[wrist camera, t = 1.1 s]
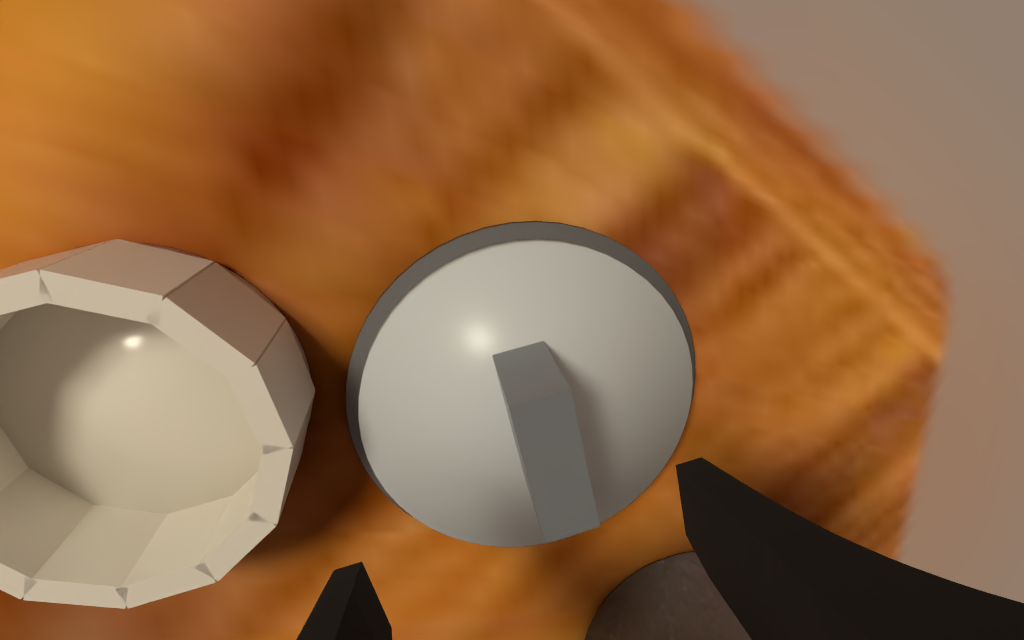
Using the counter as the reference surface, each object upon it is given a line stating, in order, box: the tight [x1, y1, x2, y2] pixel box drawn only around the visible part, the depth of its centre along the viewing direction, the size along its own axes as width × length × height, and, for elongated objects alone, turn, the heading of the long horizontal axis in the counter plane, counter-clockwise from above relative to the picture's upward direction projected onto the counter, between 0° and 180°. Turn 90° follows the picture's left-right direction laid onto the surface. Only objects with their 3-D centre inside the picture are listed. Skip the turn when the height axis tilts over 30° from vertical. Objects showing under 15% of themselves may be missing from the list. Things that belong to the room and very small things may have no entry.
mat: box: [346, 221, 695, 517], centre depth 20 cm, size 13×13×1 cm
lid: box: [358, 238, 693, 547], centre depth 18 cm, size 12×12×4 cm
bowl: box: [0, 239, 315, 609], centre depth 16 cm, size 10×10×4 cm
